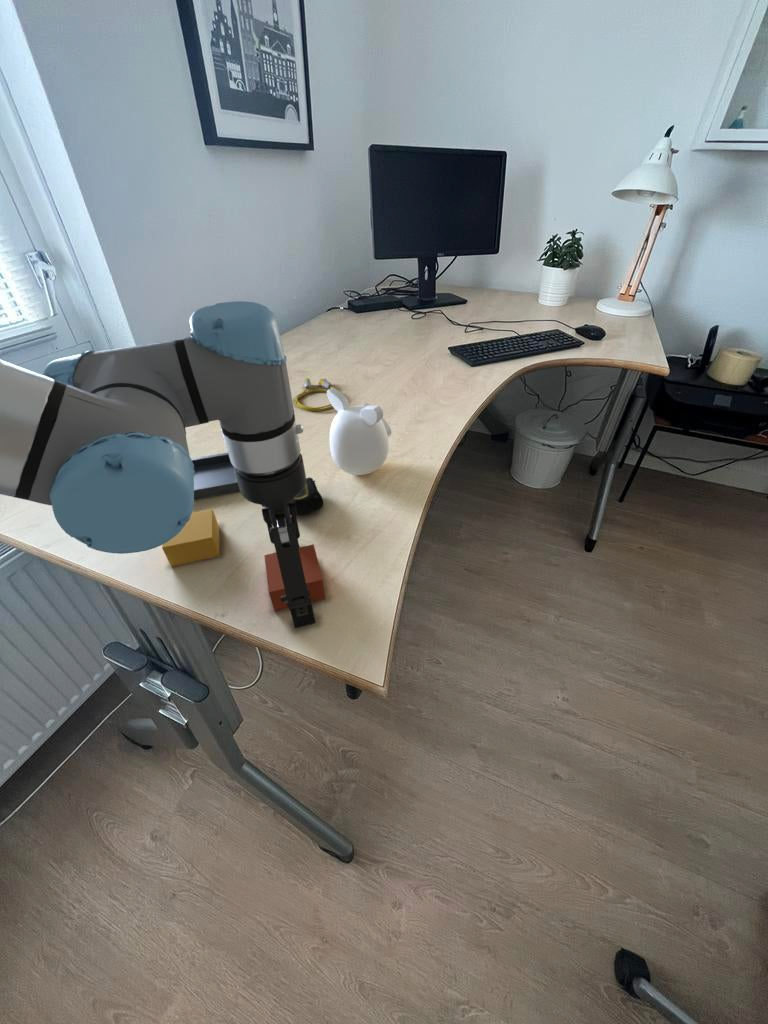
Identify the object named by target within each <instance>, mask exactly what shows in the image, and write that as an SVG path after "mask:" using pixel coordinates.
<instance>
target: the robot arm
mask: <svg viewBox="0 0 768 1024" xmlns="http://www.w3.org/2000/svg"><path fill="white" fill-rule="evenodd" d="M189 327H190V331H189V334H190V336H186V337H183V338H180V339H175V340H168V341H161V342H155V343H148V344H139V345H133V346H127V347H125V346H124V347H119V348H112V349H106V350H86V351H83V352H81V353H79V354H75V355H70V356H66V357H61V358H57V359H53V360H52V361H50V362H49V363H47V365H46V366H45V367H44V370H43V373H42V374H40V373H38V372H34V371H32V370H29V369H26V368H24V367H22V366H18V365H16V364H13V363H11V362H7V361H5V360H2V359H0V495H1V496H7V497H11V498H15V499H16V498H17V499H20V500H26V501H29V502H33V503H37V504H40V505H41V504H42V505H46V506H47V505H48V506H50V507H51V508H52V512H53V516H54V518H55V521H56V523H57V524H58V525H59V527H60V528H61V529H62V530H63V531H64V533H65V534H67V535H68V536H69V537H71V538H74V539H75V540H77V541H78V542H80V543H82V544H84V545H86V546H87V548H89V549H92V550H95V551H99V552H104V553H108V554H109V553H110V554H117V555H118V554H121V555H123V554H134V553H142V552H146V551H150V550H152V549H156V548H158V547H160V546H162V545H163V544H164V543H166V542H168V541H169V540H171V539H172V538H174V537H175V536H176V535H177V534H178V533H179V532H180V531H181V530H182V529H183V528H184V527H185V525H186V523H187V522H188V521H189V520H190V517H191V514H192V513H193V509H194V504H195V500H194V476H195V471H194V464H193V462H192V460H191V459H192V458H191V455H190V450H189V445H188V440H187V429H186V428H190V427H194V426H200V425H204V424H208V423H210V422H214V421H218V422H219V425H220V432H221V435H222V438H223V441H224V444H225V448H226V451H227V453H228V454H229V458H230V461H231V463H232V465H233V466H234V472H235V476H236V479H237V482H238V485H239V489H240V491H239V492H240V494H241V496H242V497H243V498H244V499H245V500H246V501H248V502H250V503H253V504H255V505H260V506H261V507H262V508H261V513H262V514H261V515H262V518H263V521H264V523H266V527H267V531H268V535H269V540H270V543H271V544H272V545H274V549H275V553H276V554H277V558H278V562H279V567H280V571H281V576H282V580H283V584H284V589H285V593H286V595H284V596H281V602H285V601H287V606H288V608H287V609H288V610H289V611H290V615H291V619H292V622H293V626H294V629H298V628H301V627H305V626H309V625H312V624H313V625H314V624H316V623H317V622H316V617H315V612H314V607H313V604H312V603H313V602H311V597H310V594H309V589H308V586H307V585H306V581H305V576H304V571H303V567H302V562H301V557H300V553H299V547H300V543H299V542H300V541H299V539H300V537H301V533H300V528H299V523H298V519H297V516H298V515H297V508H296V503H295V502H293V501H294V497H296V496H297V495H298V494H299V493H300V492H301V491H302V490H303V488H304V487H305V484H306V478H307V476H306V475H307V474H306V469H305V465H304V459H303V454H302V453H301V450H302V449H301V444H300V438H299V435H300V434H303V432H304V427H303V425H302V424H297V422H296V415H295V410H294V409H295V408H294V403H293V397H292V390H291V384H290V379H289V373H288V372H289V371H288V366H287V361H288V360H287V355H285V352H284V347H283V343H282V339H281V333H280V330H279V326H278V321H277V317H276V315H275V313H274V312H273V311H271V310H270V309H269V308H268V307H267V306H265V305H263V304H262V303H258V302H253V301H242V300H237V301H235V300H234V301H224V302H218V303H215V304H213V305H207V306H203V307H201V308H198V309H196V310H195V311H193V313H192V314H191V315H190V317H189Z"/></svg>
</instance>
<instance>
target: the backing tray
mask: <svg viewBox="0 0 768 1024" xmlns="http://www.w3.org/2000/svg"><path fill="white" fill-rule="evenodd" d="M191 460H192V462H193V464H194V471H195V476H194V501H195V500H200V499H201V500H202V499H205V498H211V497H216V496H223V495H227V494H233V493H238V492H240V489H239V485H238V482H237V479H236V476H235V472H234V466H233V465H232V463H231V461H230V458H229V454H228V452H224V453H218V454H211V455H205V456H199V457H193V458H191Z"/></svg>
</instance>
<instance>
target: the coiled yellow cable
mask: <svg viewBox="0 0 768 1024" xmlns="http://www.w3.org/2000/svg"><path fill="white" fill-rule="evenodd" d="M303 386H304V390H303V391H302V392H301V393H299V394H297V395H296V397H295V399H294V404H295V405H296V407H298V408H300V409H302V410H304V411H309V412H323V411H327V410H331V409H334V407H333V406H332V405H331V403H329V404H327V405H324V406H318V407H312V406H306V405H304V404H302V403H301V402H299V399H301V398H302V397H304V396H307V395H310V394H312V393H327V391H328V390H329V389H331V388H333V384H332V383H331V382H329V381H328V380H327V379H326V378H320V379H319V381H318V386H321V387H323V388H325V389H321V388H320V389H319V388H316V389H315V388H314V389H313V388H312V389H311V387H312V383H311V380H310V378H308V377H307V378H305V379H304V382H303Z"/></svg>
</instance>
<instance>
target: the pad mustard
mask: <svg viewBox="0 0 768 1024" xmlns="http://www.w3.org/2000/svg"><path fill="white" fill-rule="evenodd" d="M161 549H162V551H163V553H164V554H165V557H166V559H167V561H168V563H169V565H170V567H176V566H180V565H185V564H190V563H194V562H200V561H204V560H208V559H214V558H219V557H220V526H219V523H218V520H217V517H216V514H215V511H214V509H213V508H210V509H204V510H199V511H192V514H191V517H190V520H189V521H188V522H187V523H186V525H185V527H184V528H183V529H182V530H181V531H180V532H179V533H178V534H177V535H176V536H175V537H174V538H172V539H171V540H169V541H168V542H166V543H164V544H163V545H161Z"/></svg>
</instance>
